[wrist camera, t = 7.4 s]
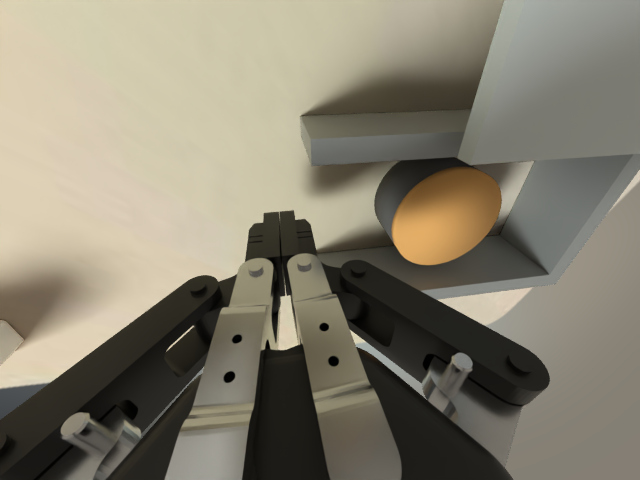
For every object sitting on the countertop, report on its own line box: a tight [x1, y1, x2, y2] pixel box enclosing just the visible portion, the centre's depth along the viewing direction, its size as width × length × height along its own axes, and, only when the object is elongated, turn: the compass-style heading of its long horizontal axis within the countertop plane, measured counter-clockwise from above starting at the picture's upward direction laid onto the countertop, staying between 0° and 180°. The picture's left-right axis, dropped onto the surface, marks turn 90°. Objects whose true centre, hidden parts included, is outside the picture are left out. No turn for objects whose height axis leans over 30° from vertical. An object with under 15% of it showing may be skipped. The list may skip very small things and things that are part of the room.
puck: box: [374, 157, 502, 265], centre depth 16 cm, size 6×6×4 cm
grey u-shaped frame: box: [300, 109, 640, 300], centre depth 15 cm, size 10×16×5 cm, turn 91°
